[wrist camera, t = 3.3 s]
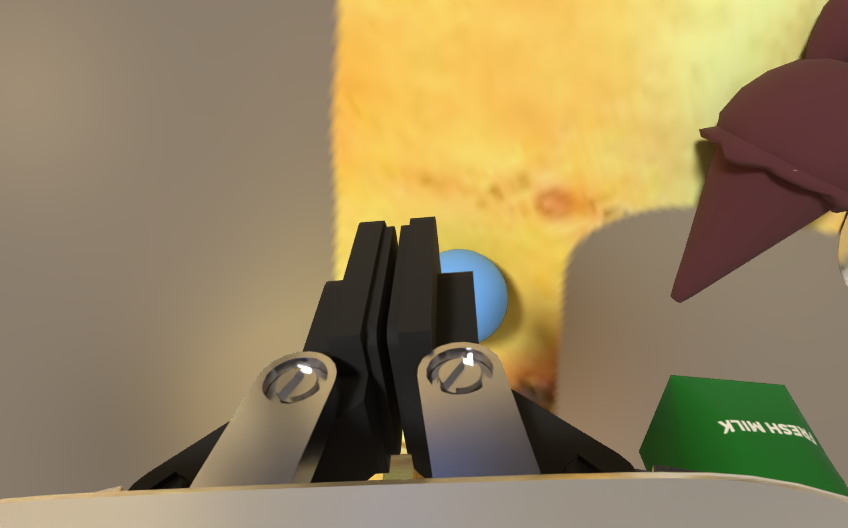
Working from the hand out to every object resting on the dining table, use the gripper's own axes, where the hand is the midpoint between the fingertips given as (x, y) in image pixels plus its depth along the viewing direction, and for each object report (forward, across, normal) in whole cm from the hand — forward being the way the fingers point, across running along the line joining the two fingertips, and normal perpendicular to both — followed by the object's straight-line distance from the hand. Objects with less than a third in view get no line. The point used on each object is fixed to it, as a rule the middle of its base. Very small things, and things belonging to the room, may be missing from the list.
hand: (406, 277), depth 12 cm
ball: (+13, -1, +10) cm, 16 cm away
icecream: (+15, -15, +3) cm, 22 cm away
